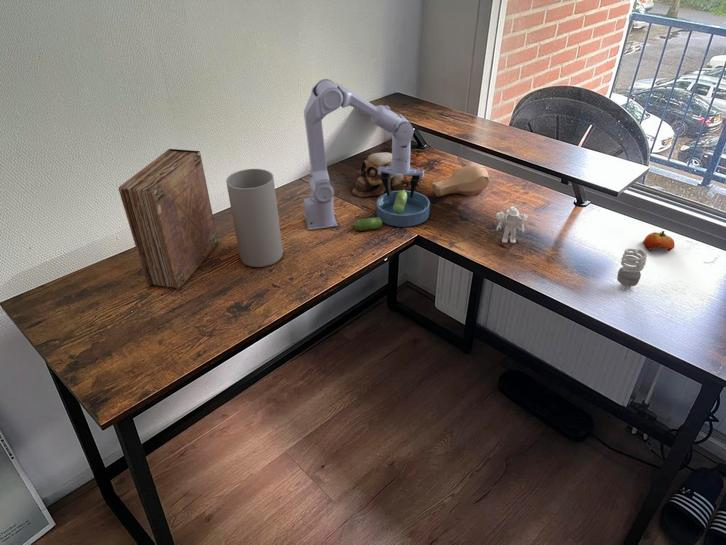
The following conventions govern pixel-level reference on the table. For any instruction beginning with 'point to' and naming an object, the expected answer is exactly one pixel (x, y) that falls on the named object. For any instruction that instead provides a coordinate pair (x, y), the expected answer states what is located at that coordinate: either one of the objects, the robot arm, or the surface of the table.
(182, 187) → the book
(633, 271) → the light bulb
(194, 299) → the table surface
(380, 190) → the coin bank
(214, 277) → the table surface
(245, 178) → the cylinder vase
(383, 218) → the bowl
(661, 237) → the tomato
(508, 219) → the hat wearing toy figure
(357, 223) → the green zucchini
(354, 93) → the robot arm
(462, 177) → the squash
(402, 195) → the pale zucchini
